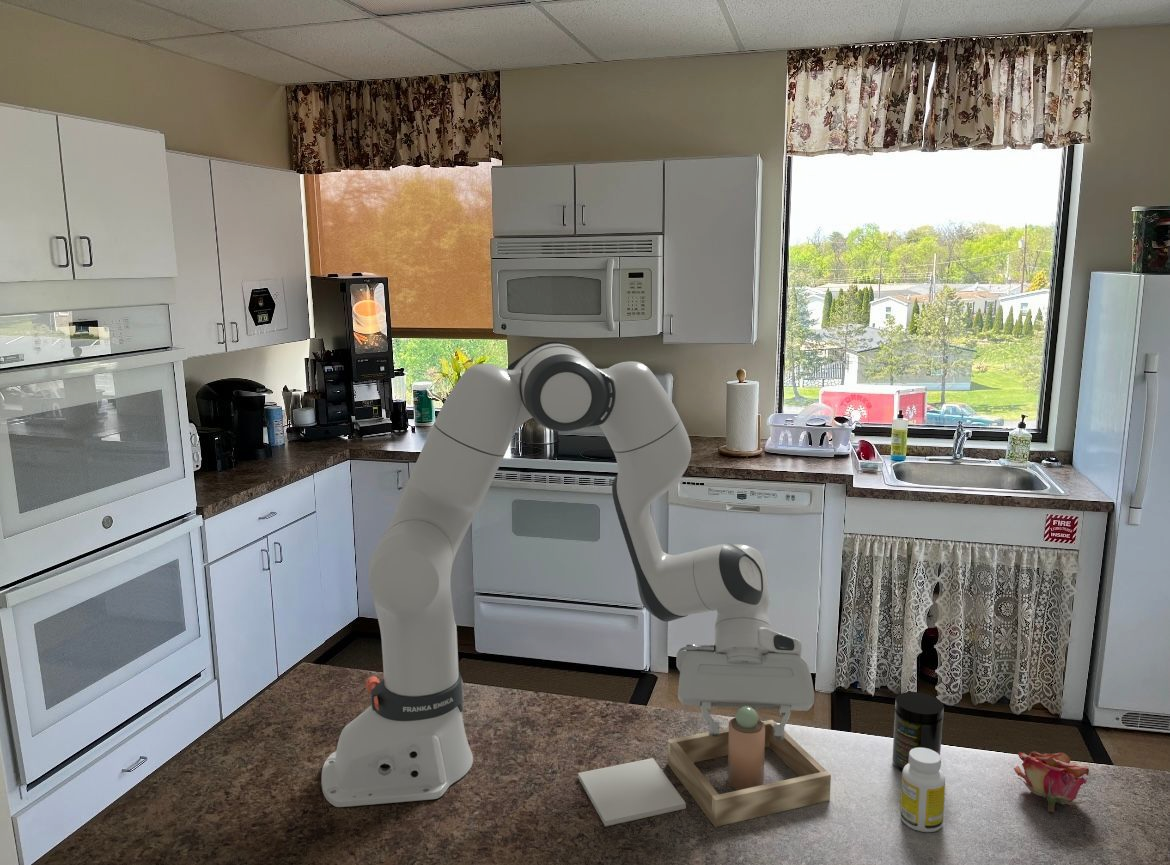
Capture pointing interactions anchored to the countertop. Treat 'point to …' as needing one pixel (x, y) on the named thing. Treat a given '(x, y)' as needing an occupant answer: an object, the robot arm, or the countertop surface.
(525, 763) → the countertop surface
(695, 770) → the brown wooden rectangular frame
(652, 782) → the paving tile
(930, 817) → the supplement bottle
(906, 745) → the supplement container
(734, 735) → the peach bottle
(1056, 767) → the flower
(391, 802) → the robot arm
